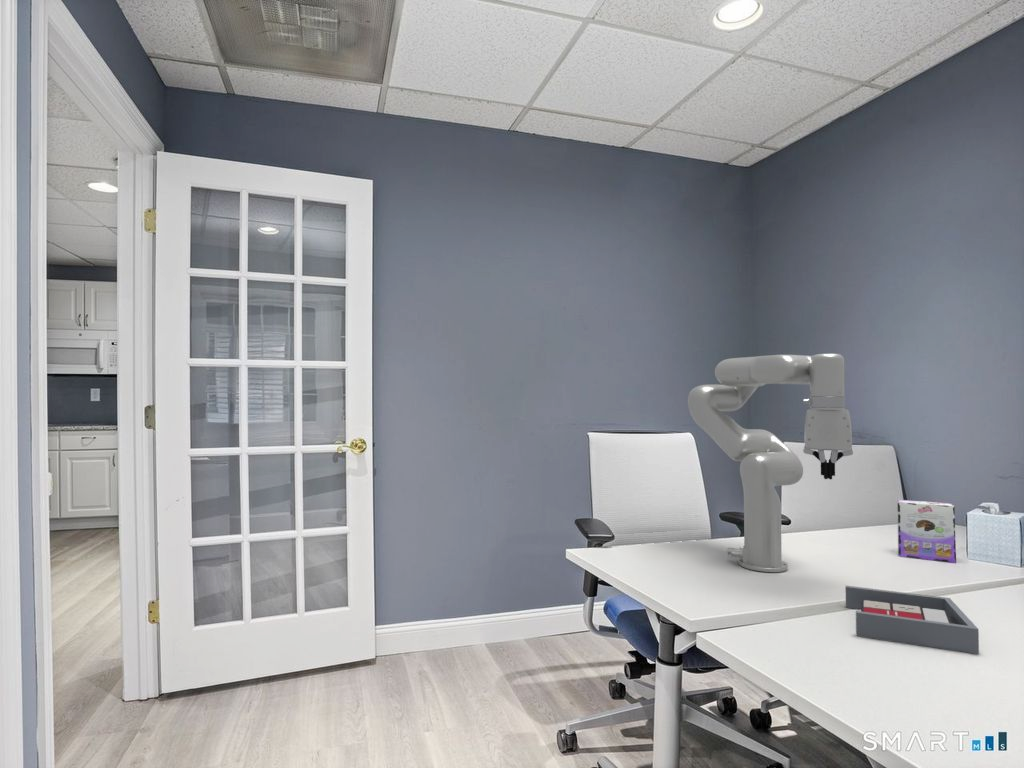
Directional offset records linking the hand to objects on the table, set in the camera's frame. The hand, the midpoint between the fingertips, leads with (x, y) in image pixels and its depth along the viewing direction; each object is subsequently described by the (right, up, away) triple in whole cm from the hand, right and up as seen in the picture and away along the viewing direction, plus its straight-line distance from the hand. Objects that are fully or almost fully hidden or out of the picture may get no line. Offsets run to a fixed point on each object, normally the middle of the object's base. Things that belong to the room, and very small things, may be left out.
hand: (827, 478), depth 141 cm
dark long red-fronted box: (+2, -27, -25) cm, 37 cm away
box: (+3, -26, -24) cm, 36 cm away
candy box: (+45, -29, +29) cm, 61 cm away
